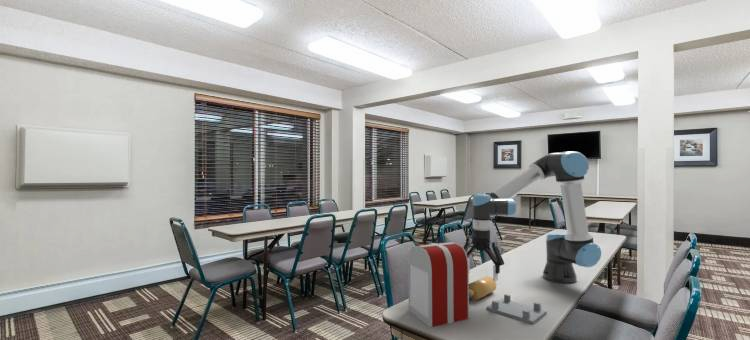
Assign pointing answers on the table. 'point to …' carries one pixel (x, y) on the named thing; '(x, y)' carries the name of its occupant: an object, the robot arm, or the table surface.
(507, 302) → the u rest
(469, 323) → the table surface
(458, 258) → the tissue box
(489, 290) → the amber bottle
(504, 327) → the table surface
